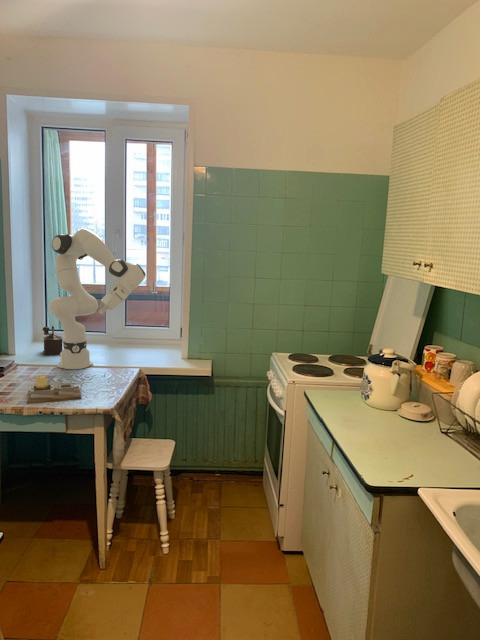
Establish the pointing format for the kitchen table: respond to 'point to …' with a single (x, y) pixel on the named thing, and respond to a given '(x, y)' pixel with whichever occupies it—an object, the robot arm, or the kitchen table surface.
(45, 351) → the manual coffee grinder
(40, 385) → the gold metal cylinder
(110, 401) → the kitchen table surface
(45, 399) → the socket board
